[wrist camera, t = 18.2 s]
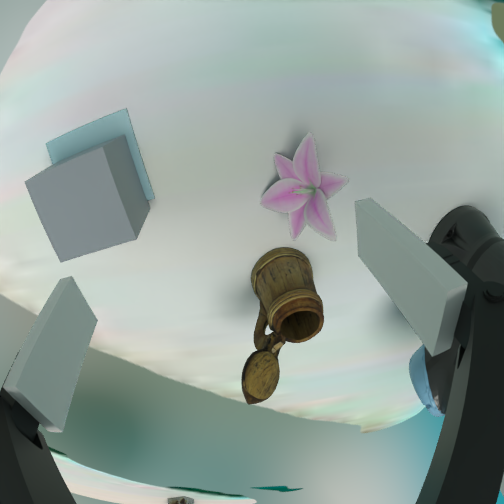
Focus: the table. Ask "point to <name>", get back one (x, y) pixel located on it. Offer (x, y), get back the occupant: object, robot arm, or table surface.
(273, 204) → the lily
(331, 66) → the table surface
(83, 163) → the matte grey cube
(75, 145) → the tape square
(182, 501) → the coffee box
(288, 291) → the wooden mug
